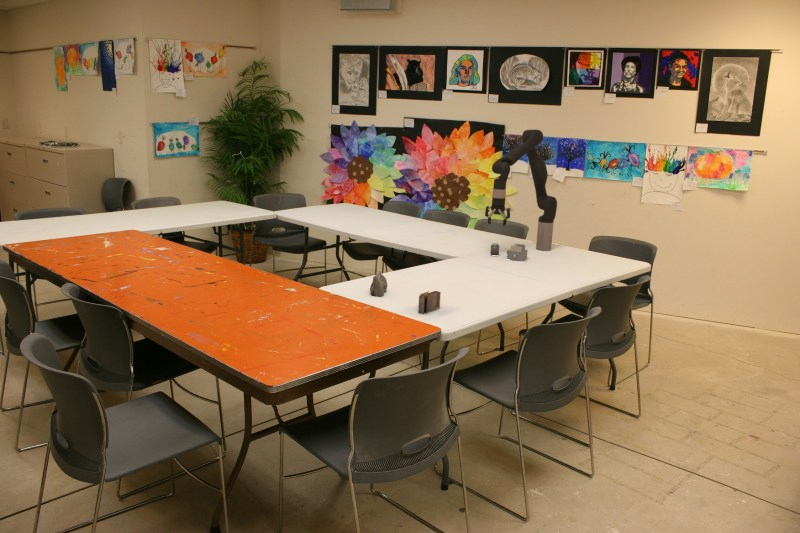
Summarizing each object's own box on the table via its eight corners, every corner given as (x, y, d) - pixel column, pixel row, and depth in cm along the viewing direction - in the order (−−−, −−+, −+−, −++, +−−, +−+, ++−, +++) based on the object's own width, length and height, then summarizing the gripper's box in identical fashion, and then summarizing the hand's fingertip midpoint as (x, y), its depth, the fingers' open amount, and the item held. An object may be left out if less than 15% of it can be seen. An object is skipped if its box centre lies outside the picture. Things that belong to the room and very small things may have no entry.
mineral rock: (382, 288, 309) (383, 267, 307) (399, 293, 302) (400, 271, 300) (361, 292, 300) (362, 271, 298) (378, 298, 293) (379, 275, 290)
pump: (491, 254, 395) (492, 242, 394) (499, 255, 393) (500, 243, 392) (489, 255, 391) (490, 244, 389) (497, 256, 389) (498, 245, 388)
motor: (508, 256, 392) (509, 242, 390) (526, 258, 388) (528, 244, 386) (503, 259, 381) (504, 245, 379) (521, 262, 377) (523, 248, 375)
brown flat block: (424, 315, 272) (425, 292, 270) (418, 313, 274) (419, 290, 272) (440, 309, 281) (441, 287, 278) (434, 308, 282) (435, 286, 280)
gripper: (512, 197, 385) (510, 225, 389) (488, 195, 391) (486, 222, 394) (509, 198, 378) (507, 227, 382) (485, 196, 384) (482, 224, 388)
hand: (496, 224), depth 388 cm, fingers open, 8 cm apart
